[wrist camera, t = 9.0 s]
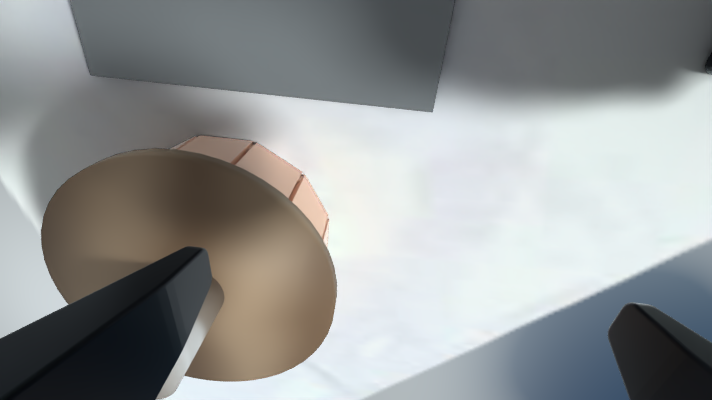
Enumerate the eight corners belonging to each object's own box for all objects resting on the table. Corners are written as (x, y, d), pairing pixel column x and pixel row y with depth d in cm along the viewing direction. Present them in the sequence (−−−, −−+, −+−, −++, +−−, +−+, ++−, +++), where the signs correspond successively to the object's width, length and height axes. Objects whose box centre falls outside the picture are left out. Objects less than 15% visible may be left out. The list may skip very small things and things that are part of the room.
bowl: (333, 149, 17) (318, 190, 13) (323, 306, 23) (311, 367, 19) (120, 126, 17) (43, 159, 13) (160, 286, 23) (113, 344, 19)
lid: (347, 168, 13) (330, 243, 9) (329, 380, 19) (314, 483, 15) (9, 130, 13) (-169, 186, 9) (101, 353, 19) (23, 447, 15)
